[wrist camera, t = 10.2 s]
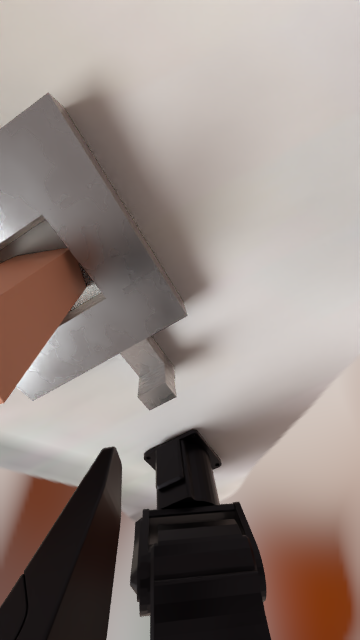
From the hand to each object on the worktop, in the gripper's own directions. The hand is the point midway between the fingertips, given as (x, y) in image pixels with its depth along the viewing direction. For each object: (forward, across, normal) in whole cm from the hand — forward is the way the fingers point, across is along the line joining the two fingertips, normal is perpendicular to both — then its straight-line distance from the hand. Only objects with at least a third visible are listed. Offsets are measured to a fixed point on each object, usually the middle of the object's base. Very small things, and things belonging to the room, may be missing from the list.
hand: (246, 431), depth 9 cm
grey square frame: (+13, +10, -4) cm, 17 cm away
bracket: (+13, +5, +5) cm, 15 cm away
